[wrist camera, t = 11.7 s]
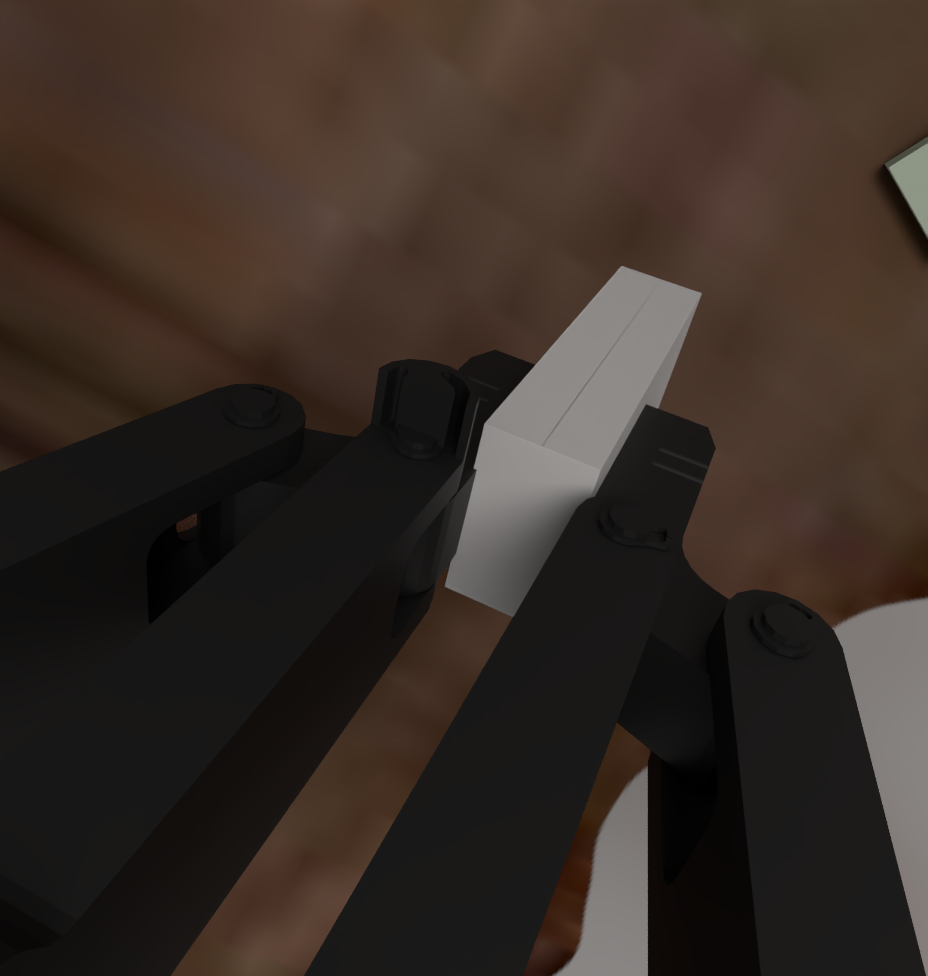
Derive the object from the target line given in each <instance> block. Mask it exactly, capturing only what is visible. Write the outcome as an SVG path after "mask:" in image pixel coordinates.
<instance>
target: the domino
mask: <svg viewBox="0 0 928 976" xmlns="http://www.w3.org/2000/svg"><path fill="white" fill-rule="evenodd" d="M885 166H886V167H887V169H888V171H889V173H890V174H891V176H892V178H893V180H894V181H895V183H896V185H897V187H898V188H899V190H900V192H901V194H902V195H903V197H904V199H905V201H906V203H907V204H908V206H909V208H910V210H911V211H912V213H913V215H914V217H915V218H916V220H917V222H918V224H919V225H920V227H921V229H922V231H923V232H924V234H925V236H926V238H927V239H928V137H926V138H925V139H923V140H922V141H920V142H918V143H917V144H915V145H914V146H912V147H910V148H909V149H907V150H906V151H904V152H902V153H901V154H899V155H898V156H896V157H894V158H893V159H891V160H890V161H888V162H886V163H885Z"/></svg>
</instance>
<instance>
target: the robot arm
mask: <svg viewBox="0 0 928 976" xmlns="http://www.w3.org/2000/svg"><path fill="white" fill-rule="evenodd" d="M701 294H702V293H699V292H696V291H693V290H690V289H687V288H684V287H682V286H679V285H676V284H673V283H670V282H667V281H664V280H661V279H658V278H655V277H652V276H650V275H647V274H644V273H641V272H638V271H635V270H632V269H629V268H626V267H623V266H621V267H620V268H619V270H618V271H617V272H616V273H615V274H614V275H613V276H612V278H611V279H610V280H609V281H608V282H607V283H606V285H605V286H604V287H603V288H602V289H601V290H600V291H599V293H598V294H597V295H596V296H595V297H594V298H593V299H592V301H591V302H590V303H589V304H588V305H587V306H586V308H585V309H584V310H583V311H582V312H581V313H580V314H579V316H578V317H577V318H576V319H575V320H574V321H573V322H572V324H571V325H570V326H569V327H568V328H567V329H566V331H565V332H564V333H563V334H562V335H561V336H560V337H559V339H558V340H557V341H556V342H555V343H554V344H553V345H552V347H551V348H550V349H549V350H548V351H547V352H546V354H545V355H544V356H543V357H542V358H541V359H540V360H539V362H538V363H537V364H536V365H534V364H531V363H529V362H526V361H524V360H521V359H518V358H516V357H513V356H510V355H508V354H505V353H502V352H500V351H497V350H494V351H490V352H487V353H484V354H481V355H478V356H474V357H471V358H470V359H469V360H468V361H467V362H466V363H465V364H464V365H463V366H462V367H461V368H460V369H459V370H458V371H457V370H456V369H454V368H452V367H450V366H447V365H443V364H439V363H436V362H432V361H426V360H414V359H408V360H401V361H393V362H391V363H389V364H387V365H384V366H382V367H380V368H379V374H378V381H377V387H376V394H375V400H374V407H373V414H372V420H371V424H370V425H369V426H368V427H367V428H366V429H364V430H363V431H362V432H361V433H360V434H359V435H358V436H357V437H352V436H344V435H336V434H331V433H326V432H321V431H316V430H311V429H306V428H305V418H306V415H305V412H304V410H303V407H302V405H301V404H300V403H299V402H298V401H297V400H296V399H295V398H294V397H293V396H291V395H290V394H287V393H285V392H283V391H281V390H278V389H276V388H273V387H269V386H263V385H259V384H234V385H230V386H226V387H222V388H217V389H215V390H212V391H210V392H207V393H204V394H202V395H199V396H197V397H194V398H191V399H189V400H186V401H183V402H181V403H178V404H176V405H173V406H170V407H168V408H165V409H163V410H160V411H157V412H155V413H152V414H150V415H147V416H144V417H142V418H139V419H137V420H134V421H131V422H129V423H126V424H124V425H121V426H118V427H116V428H113V429H111V430H108V431H105V432H103V433H100V434H98V435H95V436H92V437H90V438H87V439H85V440H82V441H79V442H77V443H74V444H72V445H69V446H66V447H64V448H61V449H59V450H56V451H53V452H51V453H48V454H46V455H43V456H40V457H38V458H35V459H32V460H30V461H27V462H25V463H22V464H19V465H17V466H14V467H12V468H9V469H6V470H4V471H1V472H0V976H171V974H172V973H173V971H174V970H175V969H176V967H177V966H178V964H179V963H180V961H181V960H182V959H183V957H184V956H185V954H186V953H187V952H188V950H189V949H190V947H191V946H192V944H193V943H194V942H195V940H196V939H197V937H198V936H199V935H200V933H201V932H202V930H203V929H204V927H205V926H206V925H207V923H208V922H209V920H210V919H211V918H212V916H213V915H214V913H215V912H216V910H217V909H218V908H219V906H220V905H221V903H222V902H223V900H224V899H225V898H226V896H227V895H228V893H229V892H230V891H231V889H232V888H233V886H234V885H235V883H236V882H237V881H238V879H239V878H240V876H241V875H242V874H243V872H244V871H245V869H246V868H247V866H248V865H249V864H250V862H251V861H252V859H253V858H254V857H255V855H256V854H257V852H258V851H259V849H260V848H261V847H262V845H263V844H264V842H265V841H266V840H267V838H268V837H269V835H270V834H271V832H272V831H273V830H274V828H275V827H276V825H277V824H278V823H279V821H280V820H281V818H282V817H283V815H284V814H285V813H286V811H287V810H288V808H289V807H290V805H291V804H292V803H293V801H294V800H295V798H296V797H297V796H298V794H299V793H300V791H301V790H302V788H303V787H304V786H305V784H306V783H307V781H308V780H309V779H310V777H311V776H312V774H313V773H314V771H315V770H316V769H317V767H318V766H319V764H320V763H321V762H322V760H323V759H324V757H325V756H326V754H327V753H328V752H329V750H330V749H331V747H332V746H333V745H334V743H335V742H336V740H337V739H338V737H339V736H340V735H341V733H342V732H343V730H344V729H345V728H346V726H347V725H348V723H349V722H350V720H351V719H352V718H353V716H354V715H355V713H356V712H357V710H358V709H359V708H360V706H361V705H362V703H363V702H364V701H365V699H366V698H367V696H368V695H369V693H370V692H371V691H372V689H373V688H374V686H375V685H376V684H377V682H378V681H379V679H380V678H381V676H382V675H383V674H384V672H385V671H386V669H387V668H388V667H389V665H390V664H391V662H392V661H393V659H394V658H395V657H396V655H397V654H398V652H399V651H400V650H401V648H402V647H403V645H404V644H405V642H406V641H407V640H408V638H409V637H410V635H411V634H412V633H413V631H414V630H415V628H416V627H417V625H418V624H419V623H420V621H421V620H422V618H423V617H424V615H425V614H426V613H427V611H428V610H429V607H430V604H431V602H432V599H433V595H434V591H435V587H436V582H437V579H438V578H439V576H440V575H441V574H442V572H443V571H444V570H445V568H446V567H447V566H448V564H449V563H450V561H451V563H450V568H449V572H448V576H447V580H446V584H445V587H447V588H449V589H451V590H454V591H456V592H458V593H460V594H462V595H465V596H467V597H469V598H471V599H474V600H476V601H478V602H480V603H482V604H485V605H487V606H489V607H491V608H494V609H496V610H498V611H500V612H503V613H505V614H507V615H509V616H511V617H513V618H512V620H511V622H510V623H509V625H508V627H507V629H506V630H505V632H504V634H503V636H502V637H501V639H500V641H499V642H498V644H497V646H496V648H495V649H494V651H493V653H492V654H491V656H490V658H489V660H488V661H487V663H486V665H485V666H484V668H483V670H482V672H481V673H480V675H479V677H478V678H477V680H476V682H475V684H474V685H473V687H472V689H471V690H470V692H469V694H468V696H467V697H466V699H465V701H464V702H463V704H462V706H461V708H460V709H459V711H458V713H457V714H456V716H455V718H454V720H453V721H452V723H451V725H450V726H449V728H448V730H447V732H446V733H445V735H444V737H443V738H442V740H441V742H440V744H439V745H438V747H437V749H436V750H435V752H434V754H433V756H432V757H431V759H430V761H429V762H428V764H427V766H426V768H425V769H424V771H423V773H422V774H421V776H420V778H419V780H418V781H417V783H416V785H415V786H414V788H413V790H412V792H411V793H410V795H409V797H408V799H407V800H406V802H405V804H404V805H403V807H402V809H401V811H400V812H399V814H398V816H397V817H396V819H395V821H394V823H393V824H392V826H391V828H390V829H389V831H388V833H387V835H386V836H385V838H384V840H383V841H382V843H381V845H380V847H379V848H378V850H377V852H376V853H375V855H374V857H373V859H372V860H371V862H370V864H369V865H368V867H367V869H366V871H365V872H364V874H363V876H362V877H361V879H360V881H359V883H358V884H357V886H356V888H355V889H354V891H353V893H352V895H351V896H350V898H349V900H348V901H347V903H346V905H345V907H344V908H343V910H342V912H341V913H340V915H339V917H338V919H337V920H336V922H335V924H334V925H333V927H332V929H331V931H330V932H329V934H328V936H327V937H326V939H325V941H324V943H323V944H322V946H321V948H320V949H319V951H318V953H317V955H316V956H315V958H314V960H313V961H312V963H311V965H310V967H309V968H308V970H307V972H306V974H305V975H304V976H523V973H524V971H525V968H526V965H527V963H528V960H529V957H530V955H531V952H532V949H533V946H534V944H535V941H536V938H537V936H538V933H539V930H540V928H541V925H542V922H543V919H544V917H545V914H546V911H547V909H548V906H549V903H550V901H551V898H552V895H553V893H554V890H555V887H556V884H557V882H558V879H559V876H560V874H561V871H562V868H563V866H564V863H565V860H566V858H567V855H568V852H569V849H570V847H571V844H572V841H573V839H574V836H575V833H576V831H577V828H578V825H579V822H580V820H581V817H582V814H583V812H584V809H585V806H586V804H587V801H588V798H589V796H590V793H591V790H592V787H593V785H594V782H595V779H596V777H597V774H598V771H599V769H600V766H601V763H602V761H603V758H604V755H605V752H606V750H607V747H608V744H609V742H610V739H611V736H612V734H613V731H614V728H615V726H616V723H618V724H620V725H621V726H622V727H623V728H624V729H626V730H627V731H628V732H629V733H631V734H632V735H633V736H634V737H636V738H637V739H638V740H639V741H640V742H642V743H643V744H644V745H645V746H647V747H648V748H649V749H650V750H651V752H650V756H649V760H648V976H926V974H925V970H924V966H923V962H922V958H921V954H920V950H919V946H918V942H917V939H916V935H915V931H914V927H913V923H912V919H911V915H910V911H909V907H908V903H907V899H906V896H905V892H904V887H903V884H902V880H901V876H900V872H899V868H898V864H897V860H896V856H895V852H894V848H893V844H892V841H891V836H890V833H889V829H888V825H887V821H886V817H885V813H884V809H883V805H882V801H881V797H880V793H879V789H878V785H877V782H876V778H875V774H874V770H873V766H872V762H871V758H870V754H869V750H868V747H867V742H866V738H865V735H864V731H863V727H862V723H861V719H860V715H859V711H858V707H857V703H856V699H855V695H854V691H853V687H852V684H851V680H850V676H849V672H848V668H847V664H846V660H845V656H844V653H843V648H842V646H841V644H840V642H839V640H838V638H837V636H836V634H835V632H834V630H833V629H832V628H831V627H830V626H829V625H828V624H827V623H826V622H825V621H824V620H823V619H822V618H821V617H820V616H819V615H818V614H817V613H816V612H814V611H813V610H811V609H810V608H808V607H806V606H805V605H803V604H802V603H800V602H799V601H797V600H794V599H792V598H789V597H787V596H784V595H781V594H779V593H776V592H770V591H762V590H750V591H745V592H740V593H737V594H736V595H734V596H733V597H732V598H731V599H730V600H729V599H728V598H726V597H725V596H723V595H722V594H720V593H719V592H717V591H716V590H714V589H713V588H712V587H711V586H709V585H708V584H707V583H706V582H704V581H703V580H702V579H701V578H700V577H699V576H698V575H697V574H696V573H695V571H694V570H693V569H692V568H691V566H690V565H689V563H688V561H687V560H686V558H685V556H684V552H683V548H682V541H683V535H684V533H685V530H686V527H687V524H688V522H689V519H690V516H691V514H692V511H693V508H694V506H695V503H696V500H697V497H698V495H699V492H700V489H701V487H702V483H703V481H704V478H705V476H706V473H707V470H708V467H709V465H710V462H711V460H712V457H713V454H714V451H715V449H716V448H715V445H714V442H713V440H712V437H711V434H710V431H709V429H708V427H705V426H702V425H700V424H697V423H694V422H692V421H689V420H687V419H684V418H681V417H679V416H676V415H673V414H671V413H668V412H665V411H663V410H660V409H658V407H659V405H660V402H661V399H662V397H663V394H664V392H665V389H666V386H667V384H668V381H669V378H670V376H671V373H672V371H673V368H674V365H675V363H676V360H677V357H678V355H679V352H680V350H681V347H682V344H683V342H684V339H685V336H686V334H687V331H688V328H689V326H690V323H691V321H692V318H693V315H694V313H695V310H696V307H697V305H698V302H699V300H700V297H701ZM195 513H197V525H196V526H194V527H192V528H190V529H188V530H186V531H182V532H178V533H177V530H176V523H177V522H179V521H181V520H183V519H185V518H187V517H189V516H191V515H193V514H195Z"/></svg>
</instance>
